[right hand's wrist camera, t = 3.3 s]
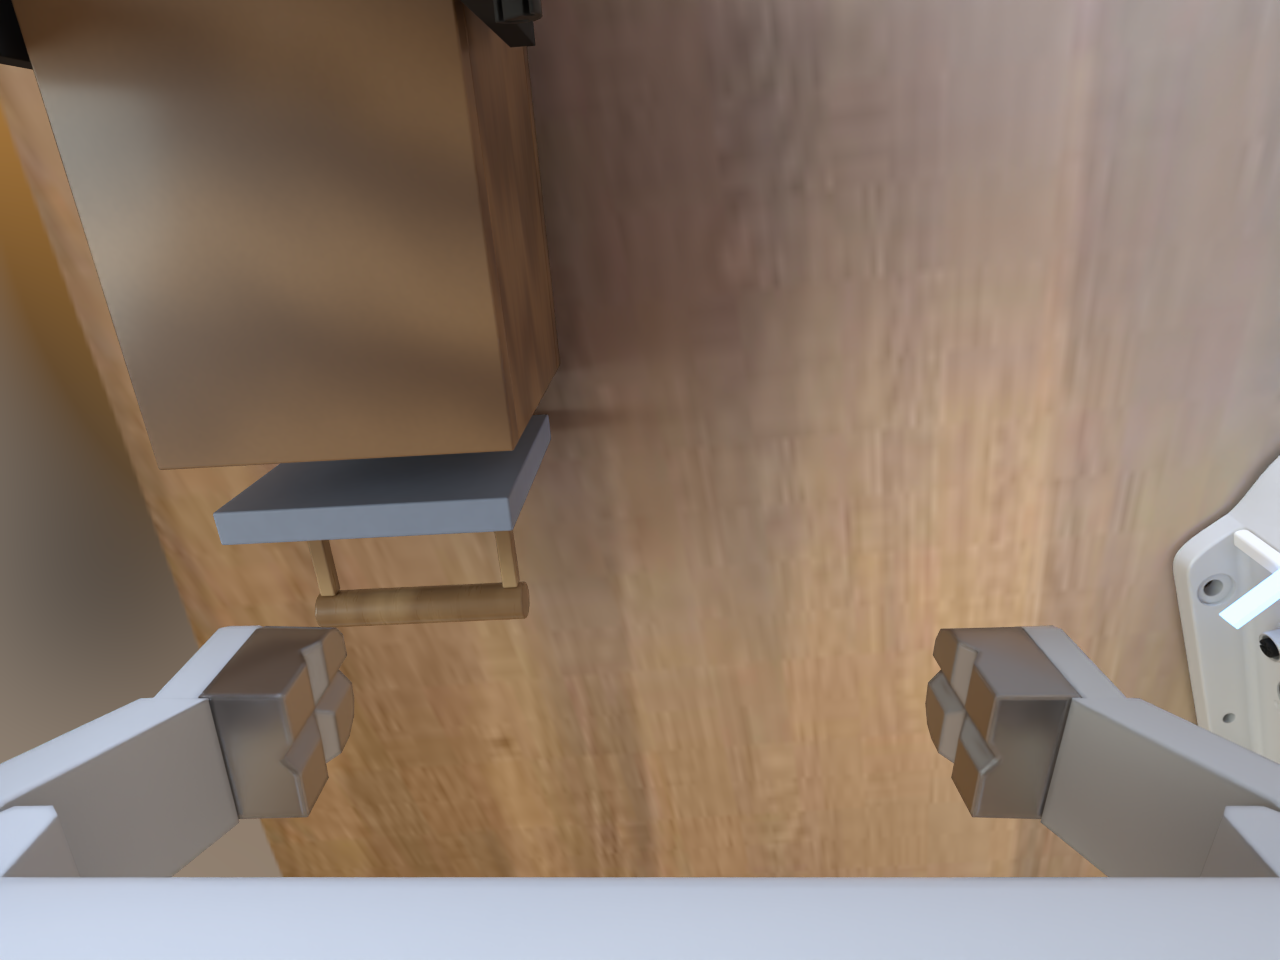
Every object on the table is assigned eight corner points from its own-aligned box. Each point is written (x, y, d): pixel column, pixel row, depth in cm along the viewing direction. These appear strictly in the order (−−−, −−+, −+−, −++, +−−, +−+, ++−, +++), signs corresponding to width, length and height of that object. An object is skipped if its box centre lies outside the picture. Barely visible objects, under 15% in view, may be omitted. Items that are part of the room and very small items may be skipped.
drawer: (563, 550, 36) (532, 672, 27) (359, 560, 36) (261, 683, 27) (507, 53, 28) (438, -6, 19) (250, 74, 29) (67, 25, 20)
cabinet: (560, 365, 34) (514, 451, 23) (315, 380, 34) (158, 470, 23) (513, -80, 28) (421, -247, 17) (218, -54, 28) (-54, -200, 17)
